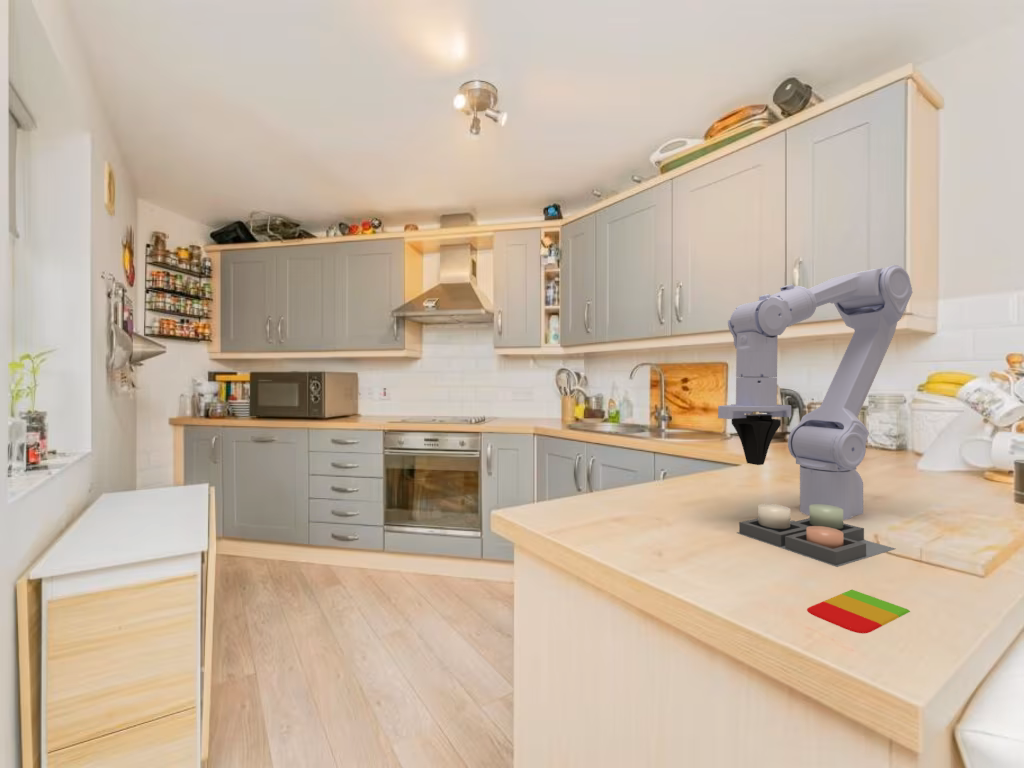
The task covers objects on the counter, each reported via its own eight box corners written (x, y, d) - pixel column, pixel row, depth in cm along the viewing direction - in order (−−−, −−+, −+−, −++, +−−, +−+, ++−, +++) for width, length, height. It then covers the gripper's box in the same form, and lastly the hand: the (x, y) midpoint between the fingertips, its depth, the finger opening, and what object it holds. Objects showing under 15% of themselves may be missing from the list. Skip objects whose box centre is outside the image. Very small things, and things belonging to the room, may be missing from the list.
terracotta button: (818, 541, 63) (818, 524, 63) (850, 551, 60) (850, 532, 60) (799, 546, 62) (799, 528, 62) (831, 557, 58) (831, 537, 58)
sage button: (820, 519, 69) (820, 502, 69) (849, 526, 66) (849, 509, 66) (803, 522, 68) (803, 506, 68) (832, 530, 64) (832, 513, 64)
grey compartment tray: (792, 527, 74) (792, 510, 74) (895, 557, 62) (895, 536, 62) (736, 540, 69) (736, 521, 69) (837, 576, 56) (837, 553, 56)
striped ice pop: (799, 627, 46) (799, 607, 46) (877, 593, 53) (877, 576, 53) (863, 656, 41) (863, 635, 41) (939, 614, 48) (939, 596, 48)
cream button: (770, 518, 70) (770, 502, 70) (796, 526, 66) (796, 509, 66) (752, 522, 68) (752, 506, 68) (778, 530, 64) (778, 513, 64)
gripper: (763, 378, 80) (762, 457, 80) (702, 376, 74) (701, 462, 74) (804, 378, 74) (803, 463, 74) (741, 376, 68) (740, 470, 68)
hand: (755, 463), depth 73 cm, fingers closed
